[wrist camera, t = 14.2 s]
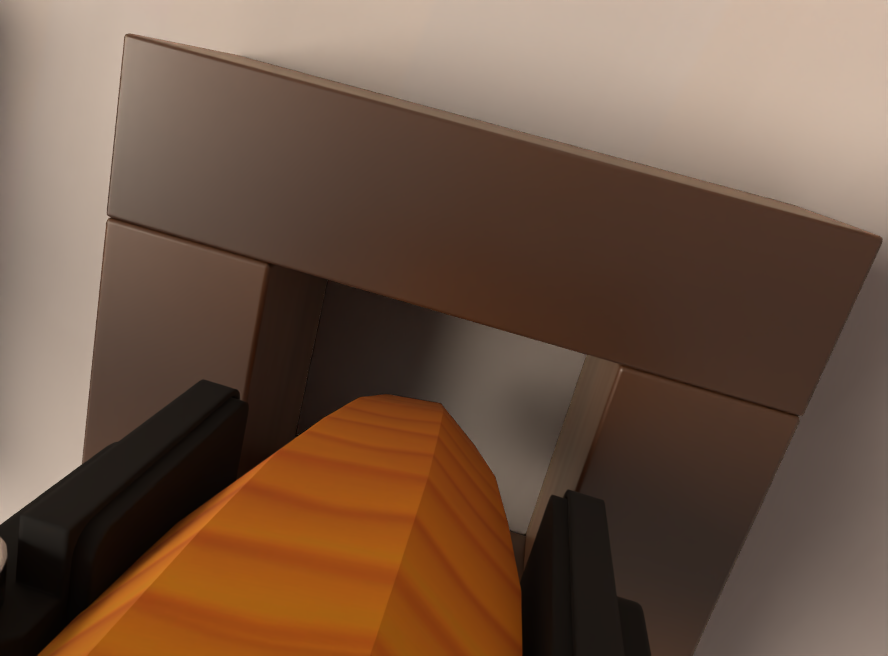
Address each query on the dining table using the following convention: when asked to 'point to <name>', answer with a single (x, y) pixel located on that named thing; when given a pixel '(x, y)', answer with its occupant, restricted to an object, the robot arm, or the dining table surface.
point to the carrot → (328, 553)
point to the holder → (470, 292)
